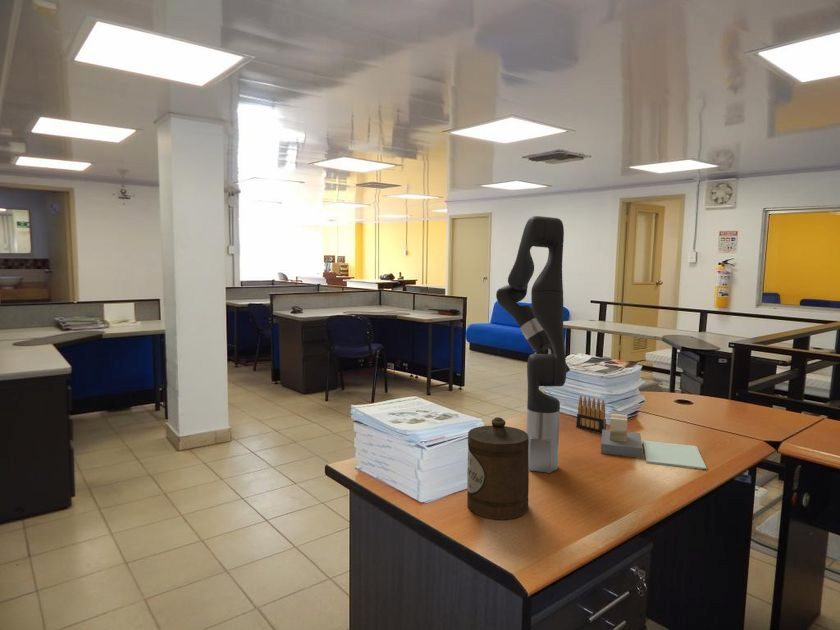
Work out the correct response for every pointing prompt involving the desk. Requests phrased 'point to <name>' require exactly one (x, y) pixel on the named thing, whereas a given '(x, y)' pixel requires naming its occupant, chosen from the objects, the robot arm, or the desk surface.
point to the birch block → (618, 427)
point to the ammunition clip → (591, 415)
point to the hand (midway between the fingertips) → (561, 374)
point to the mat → (673, 455)
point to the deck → (622, 445)
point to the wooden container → (498, 471)
